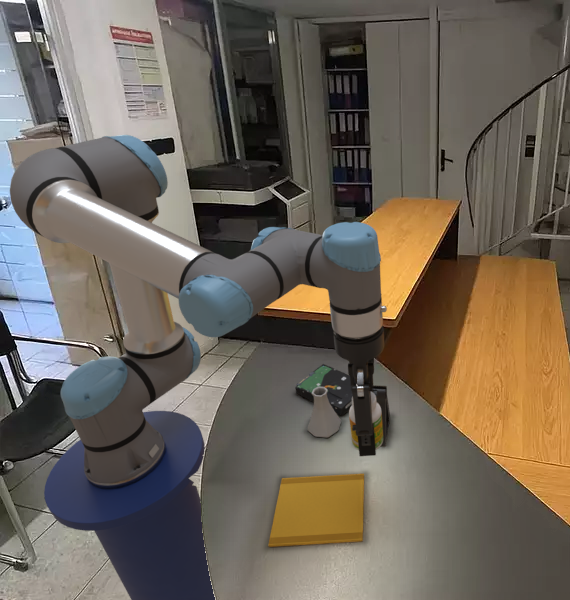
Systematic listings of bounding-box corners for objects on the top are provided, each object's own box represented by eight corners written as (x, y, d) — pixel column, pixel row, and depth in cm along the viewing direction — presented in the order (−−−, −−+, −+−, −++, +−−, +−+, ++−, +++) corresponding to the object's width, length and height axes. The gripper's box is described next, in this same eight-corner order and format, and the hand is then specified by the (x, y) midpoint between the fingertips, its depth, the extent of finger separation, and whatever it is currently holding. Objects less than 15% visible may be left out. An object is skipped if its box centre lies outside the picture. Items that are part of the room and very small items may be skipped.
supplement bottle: (379, 455, 80) (376, 411, 76) (348, 451, 81) (343, 407, 77) (386, 431, 85) (383, 388, 80) (356, 428, 86) (352, 385, 81)
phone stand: (385, 446, 101) (382, 402, 95) (357, 444, 102) (352, 401, 96) (390, 416, 109) (388, 374, 103) (364, 415, 109) (360, 373, 103)
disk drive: (370, 392, 116) (323, 371, 124) (369, 383, 115) (322, 362, 122) (342, 418, 109) (295, 394, 116) (341, 408, 108) (293, 385, 115)
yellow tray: (268, 547, 82) (268, 545, 82) (282, 479, 94) (281, 477, 94) (362, 541, 83) (362, 539, 82) (364, 475, 95) (364, 473, 94)
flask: (320, 411, 111) (315, 376, 106) (347, 420, 108) (343, 385, 103) (301, 432, 105) (295, 397, 100) (329, 442, 102) (324, 406, 98)
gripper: (384, 363, 64) (391, 483, 75) (382, 295, 80) (388, 403, 91) (327, 366, 64) (343, 485, 75) (337, 297, 80) (348, 405, 91)
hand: (367, 440), depth 83 cm, fingers closed on supplement bottle, 5 cm apart
